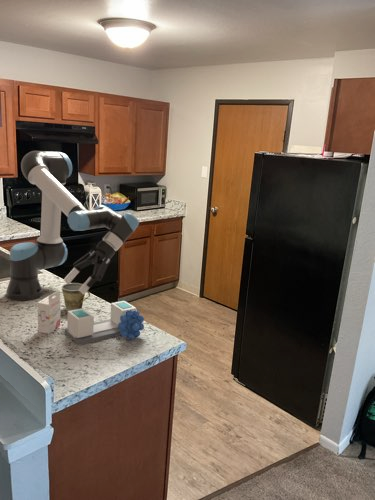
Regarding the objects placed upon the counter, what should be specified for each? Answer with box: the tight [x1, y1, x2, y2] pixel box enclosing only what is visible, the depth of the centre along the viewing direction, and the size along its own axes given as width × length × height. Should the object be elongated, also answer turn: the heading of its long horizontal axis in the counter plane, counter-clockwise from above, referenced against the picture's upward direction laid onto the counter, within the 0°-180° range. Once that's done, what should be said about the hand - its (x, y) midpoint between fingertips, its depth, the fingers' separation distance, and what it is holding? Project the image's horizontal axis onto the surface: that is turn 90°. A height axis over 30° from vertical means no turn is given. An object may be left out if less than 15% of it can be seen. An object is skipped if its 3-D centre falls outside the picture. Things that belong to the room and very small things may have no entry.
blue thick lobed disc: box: [118, 309, 145, 341], centre depth 154 cm, size 12×7×12 cm, turn 133°
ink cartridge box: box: [37, 290, 61, 334], centre depth 158 cm, size 9×5×15 cm, turn 168°
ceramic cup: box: [61, 282, 91, 312], centre depth 179 cm, size 13×10×10 cm
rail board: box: [63, 300, 137, 346], centre depth 160 cm, size 12×25×9 cm, turn 129°
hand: (73, 287), depth 162 cm, fingers open, 13 cm apart
